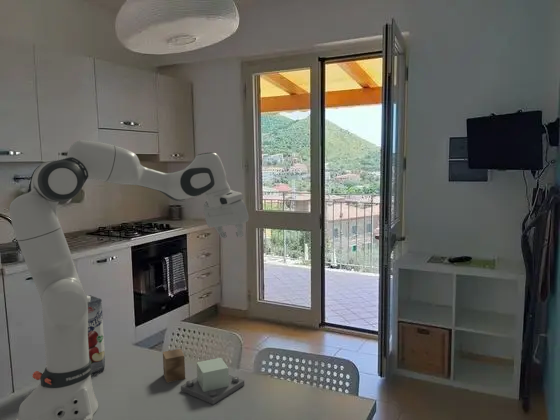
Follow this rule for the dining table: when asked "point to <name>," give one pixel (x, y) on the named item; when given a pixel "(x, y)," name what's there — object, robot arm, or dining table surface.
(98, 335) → the juice carton
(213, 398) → the baseplate
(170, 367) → the walnut brick
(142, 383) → the dining table surface
